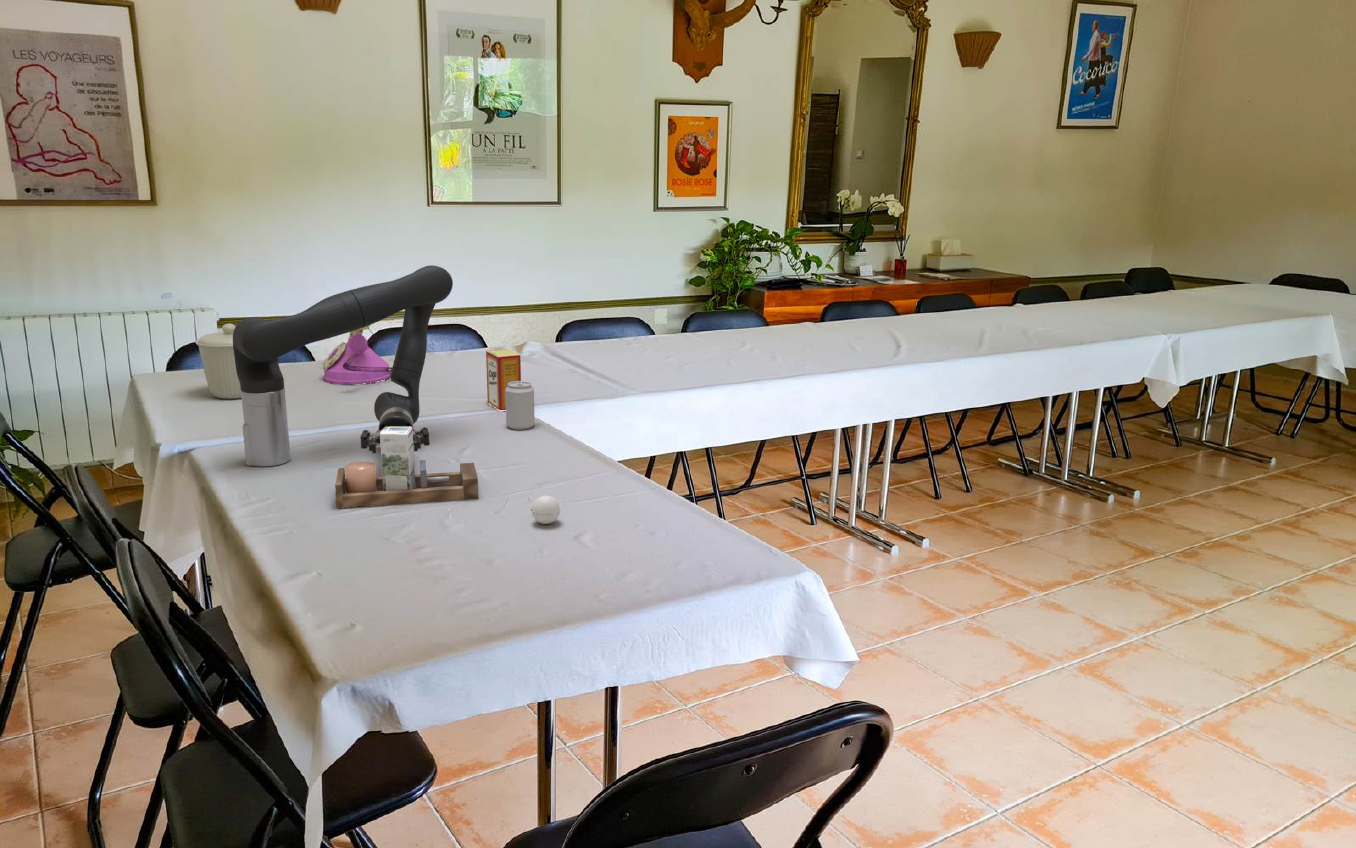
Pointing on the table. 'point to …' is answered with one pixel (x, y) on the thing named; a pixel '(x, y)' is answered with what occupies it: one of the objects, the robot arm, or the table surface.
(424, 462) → the plate
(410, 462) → the syrup box
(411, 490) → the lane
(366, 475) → the peach rounded cylinder
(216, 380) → the canister
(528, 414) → the can
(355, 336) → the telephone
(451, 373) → the table surface
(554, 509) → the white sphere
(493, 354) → the baking soda box
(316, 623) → the table surface
